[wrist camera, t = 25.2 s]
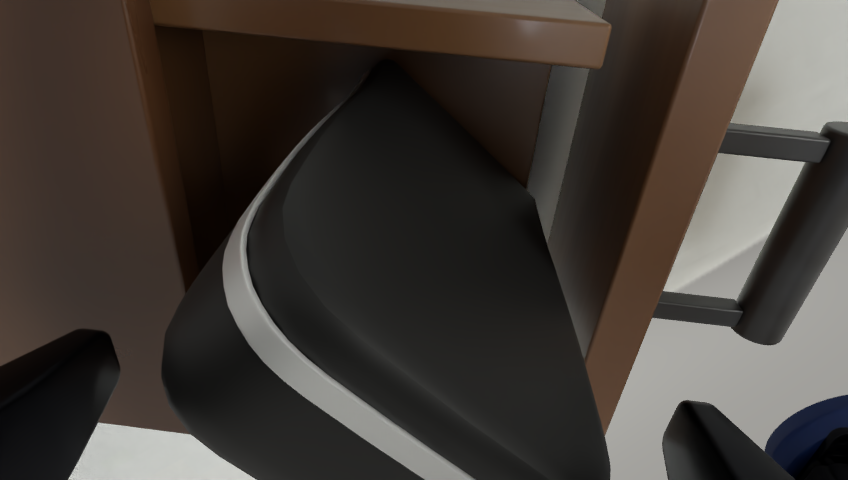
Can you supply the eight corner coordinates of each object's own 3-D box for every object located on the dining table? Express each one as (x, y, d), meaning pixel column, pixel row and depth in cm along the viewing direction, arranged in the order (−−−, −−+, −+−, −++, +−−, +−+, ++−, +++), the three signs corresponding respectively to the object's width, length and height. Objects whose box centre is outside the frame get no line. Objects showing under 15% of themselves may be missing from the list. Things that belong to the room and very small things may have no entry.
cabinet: (286, -89, 15) (100, -112, 8) (304, 266, 21) (215, 438, 14) (-188, -132, 15) (-791, -193, 8) (-29, 227, 22) (-283, 374, 15)
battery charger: (304, 135, 16) (55, 428, 6) (383, 44, 15) (216, 238, 5) (459, 268, 18) (455, 646, 8) (542, 201, 17) (656, 563, 7)
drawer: (838, -14, 14) (1098, 23, 8) (692, 312, 20) (781, 468, 14) (180, -74, 15) (-17, -81, 9) (228, 258, 20) (129, 386, 15)
